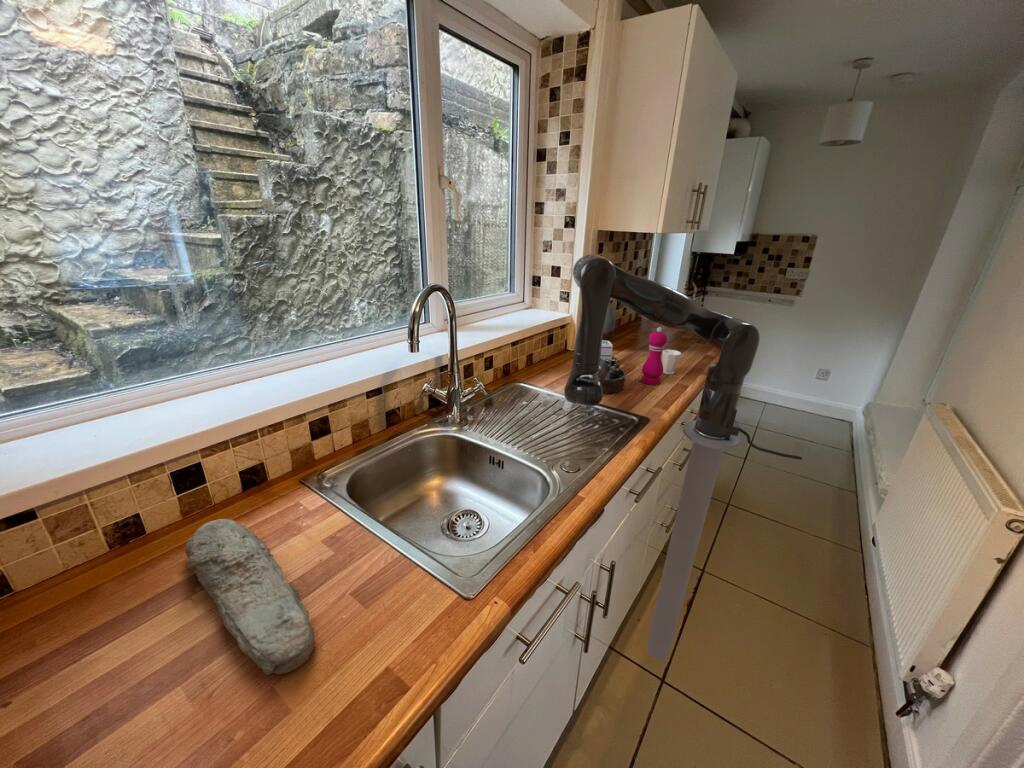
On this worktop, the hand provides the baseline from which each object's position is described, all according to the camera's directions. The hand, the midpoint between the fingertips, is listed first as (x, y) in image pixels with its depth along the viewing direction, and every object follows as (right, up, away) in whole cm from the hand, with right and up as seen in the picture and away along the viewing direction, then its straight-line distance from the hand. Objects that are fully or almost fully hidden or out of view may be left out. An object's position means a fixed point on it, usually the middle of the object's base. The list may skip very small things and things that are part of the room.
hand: (602, 357), depth 140 cm
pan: (-1, -9, +2) cm, 10 cm away
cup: (+30, -4, +16) cm, 34 cm away
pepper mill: (+19, -9, +6) cm, 21 cm away
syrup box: (-1, -9, +1) cm, 9 cm away
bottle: (+4, 0, +24) cm, 25 cm away
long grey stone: (-71, -41, -79) cm, 114 cm away
